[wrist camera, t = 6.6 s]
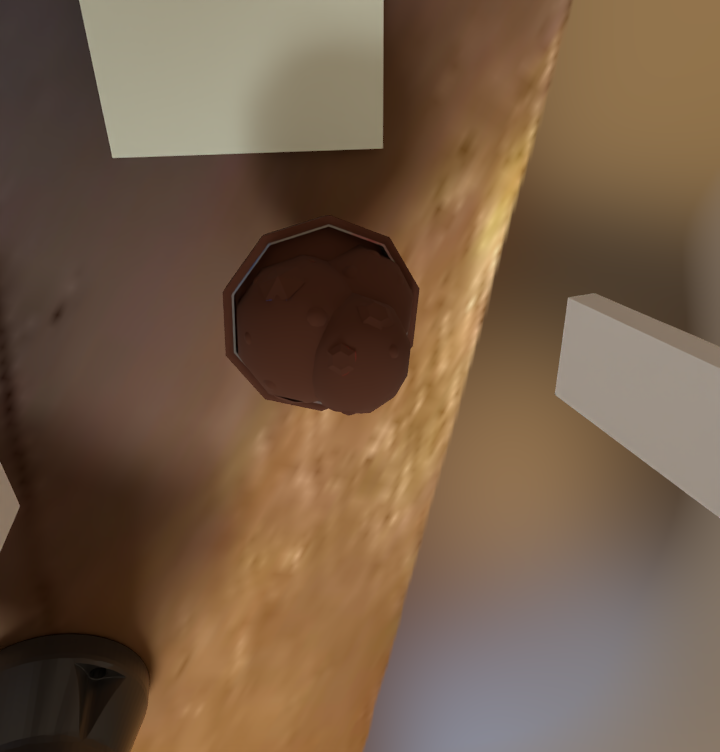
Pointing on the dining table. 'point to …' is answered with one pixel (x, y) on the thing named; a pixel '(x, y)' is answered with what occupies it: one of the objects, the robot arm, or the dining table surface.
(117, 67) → the board
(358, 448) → the dining table surface
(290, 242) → the ice cream bowl
